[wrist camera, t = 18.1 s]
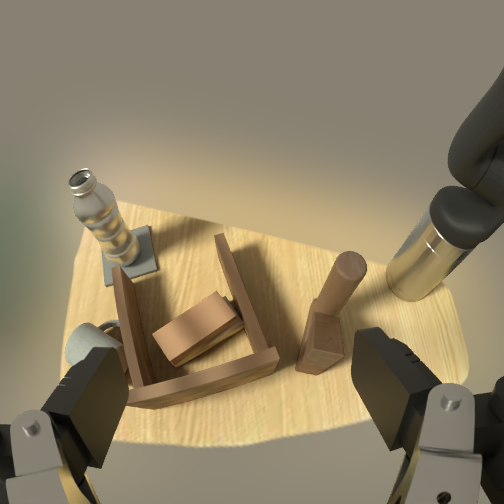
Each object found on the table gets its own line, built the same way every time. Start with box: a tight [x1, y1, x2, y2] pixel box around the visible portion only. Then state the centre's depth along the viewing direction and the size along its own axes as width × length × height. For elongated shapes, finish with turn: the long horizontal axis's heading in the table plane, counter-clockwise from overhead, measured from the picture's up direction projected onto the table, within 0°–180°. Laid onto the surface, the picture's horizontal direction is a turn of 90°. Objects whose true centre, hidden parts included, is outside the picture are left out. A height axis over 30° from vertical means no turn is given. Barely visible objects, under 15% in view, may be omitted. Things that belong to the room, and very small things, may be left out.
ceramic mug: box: [65, 320, 128, 374], centre depth 39 cm, size 11×8×8 cm
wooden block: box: [295, 251, 367, 375], centre depth 36 cm, size 4×11×18 cm, turn 164°
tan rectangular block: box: [152, 291, 244, 367], centre depth 42 cm, size 12×5×6 cm, turn 124°
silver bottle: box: [68, 168, 140, 266], centre depth 42 cm, size 6×7×20 cm
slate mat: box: [101, 225, 158, 287], centre depth 51 cm, size 10×10×1 cm
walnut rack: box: [111, 233, 280, 410], centre depth 40 cm, size 18×22×12 cm
